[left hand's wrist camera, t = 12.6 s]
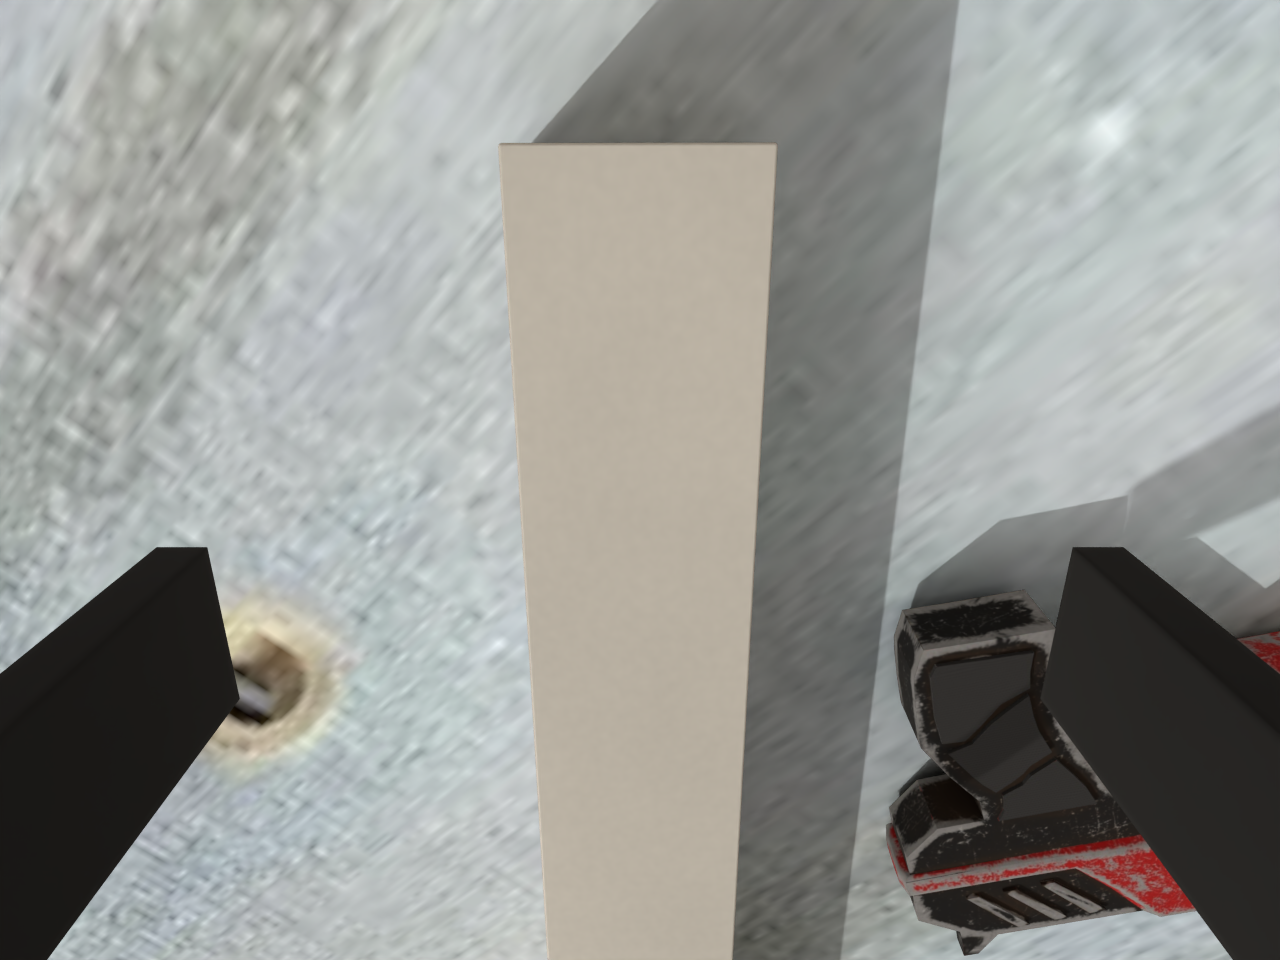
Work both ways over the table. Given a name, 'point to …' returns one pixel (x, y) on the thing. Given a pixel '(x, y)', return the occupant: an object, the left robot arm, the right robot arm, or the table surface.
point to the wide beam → (639, 523)
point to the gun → (1009, 784)
